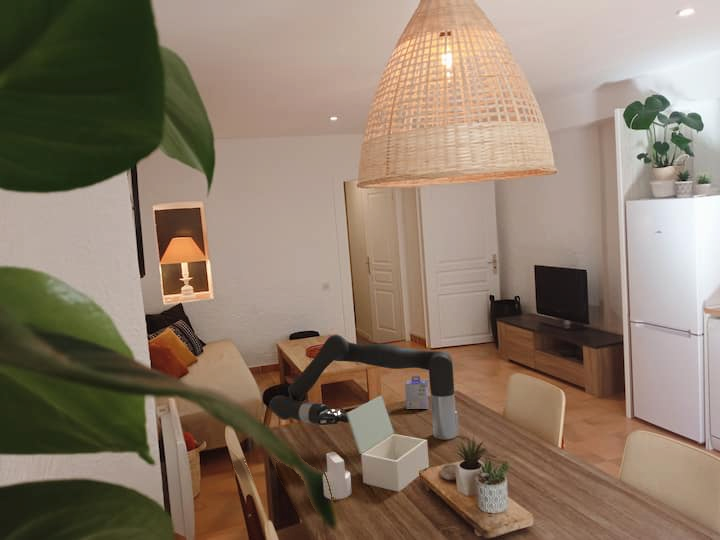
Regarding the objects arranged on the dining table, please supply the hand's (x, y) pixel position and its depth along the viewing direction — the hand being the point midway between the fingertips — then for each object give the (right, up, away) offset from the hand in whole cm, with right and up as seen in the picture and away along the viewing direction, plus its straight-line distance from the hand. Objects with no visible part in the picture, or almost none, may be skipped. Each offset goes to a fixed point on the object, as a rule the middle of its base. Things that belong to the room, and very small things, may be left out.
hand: (351, 419), depth 210 cm
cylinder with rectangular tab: (-4, -19, -18) cm, 27 cm away
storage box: (+16, -17, -9) cm, 25 cm away
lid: (+7, 0, -5) cm, 9 cm away
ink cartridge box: (+30, -10, +59) cm, 67 cm away
